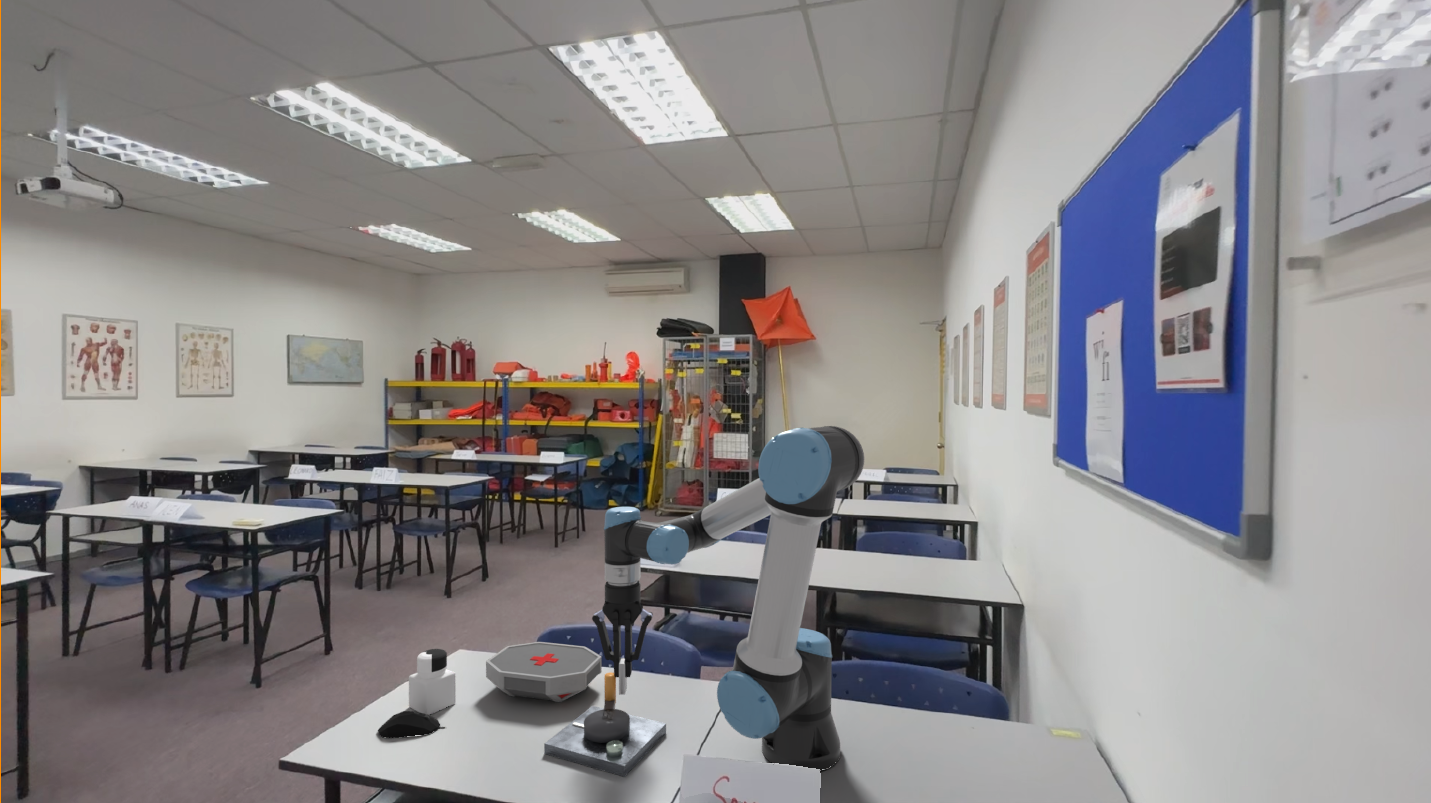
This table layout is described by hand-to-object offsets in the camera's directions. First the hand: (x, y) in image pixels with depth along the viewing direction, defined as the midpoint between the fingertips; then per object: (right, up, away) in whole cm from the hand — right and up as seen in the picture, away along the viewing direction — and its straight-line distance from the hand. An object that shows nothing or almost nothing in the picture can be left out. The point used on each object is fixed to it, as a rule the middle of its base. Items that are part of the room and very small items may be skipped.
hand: (622, 691), depth 134 cm
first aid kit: (-20, -6, +14) cm, 25 cm away
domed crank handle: (-2, -4, -6) cm, 7 cm away
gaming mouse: (-42, -7, -3) cm, 43 cm away
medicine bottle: (-43, -6, +6) cm, 44 cm away
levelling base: (-2, -6, -9) cm, 11 cm away
